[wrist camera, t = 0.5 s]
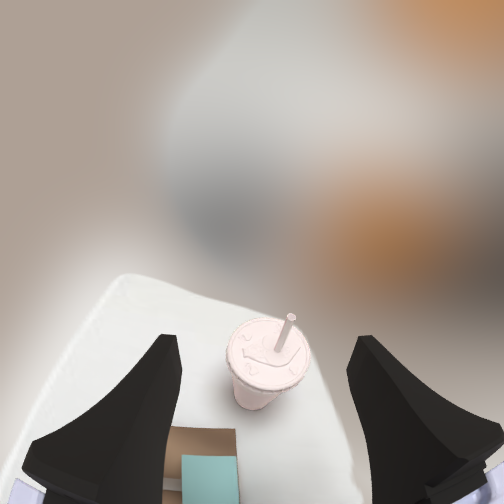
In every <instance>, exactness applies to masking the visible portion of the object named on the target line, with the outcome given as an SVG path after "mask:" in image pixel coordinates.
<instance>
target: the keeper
mask: <svg viewBox="0 0 504 504" xmlns="http://www.w3.org/2000/svg"><path fill="white" fill-rule="evenodd" d="M182 503H183V504H239V491H238V476H237V461H236V456H197V455H182Z"/></svg>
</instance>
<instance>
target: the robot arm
mask: <svg viewBox="0 0 504 504" xmlns="http://www.w3.org/2000/svg"><path fill="white" fill-rule="evenodd" d="M346 370H347V376H348V382H349V387H350V391H351V394H352V397H353V400H354V404H355V406H356V410H357V412H358V416H359V419H360V422H361V425H362V428H363V431H364V435H365V439H366V443H367V449H368V455H369V462H370V470H371V480H372V504H504V461H503V462H501V463H500V464H499V465H497V466H496V467H494V468H493V469H491V470H490V471H488V472H487V473H484V471H483V469H484V468H486V463H485V460H486V459H487V458H489V457H490V456H491V455H492V454H493V453H495V452H496V451H497V450H498V449H499V448H500V447H501V446H502V445H503V444H504V431H503V429H502V427H501V426H500V424H499V423H496V422H492V421H490V420H487V419H484V418H481V417H479V416H477V415H474V414H472V413H470V412H468V411H466V410H464V409H462V408H460V407H458V406H456V405H454V404H452V403H451V402H449V401H448V400H446V399H445V398H443V397H441V396H440V395H439V394H437V393H436V392H434V391H433V390H431V389H430V388H429V387H428V386H426V385H425V384H424V383H422V382H421V381H420V380H419V379H418V378H417V377H415V376H414V375H413V374H412V373H411V372H410V371H409V370H408V369H406V368H405V367H404V366H403V365H402V364H401V363H400V362H399V361H398V360H397V359H396V358H395V357H394V356H393V355H392V354H391V353H390V352H389V351H387V349H386V348H385V347H384V346H383V345H382V344H380V342H378V341H377V340H376V339H375V338H374V337H373V336H372V335H368V336H358V340H357V342H356V345H355V348H354V350H353V353H352V356H351V359H350V361H349V364H348V367H347V369H346ZM181 376H182V366H181V360H180V355H179V349H178V343H177V337H176V335H167V334H161V335H159V336H158V338H157V339H156V340H155V342H154V343H153V344H152V346H151V347H150V348H149V349H148V351H147V352H146V353H145V354H144V356H143V357H142V358H141V359H140V360H139V362H138V363H137V364H136V365H135V366H134V367H133V369H132V370H131V371H130V372H129V373H128V374H127V375H126V376H125V377H124V378H123V379H122V380H121V381H120V383H119V384H118V385H117V386H116V387H115V388H114V389H113V390H112V391H110V392H109V393H108V394H107V395H106V396H105V397H104V398H103V399H102V400H100V401H99V402H98V403H97V404H95V405H94V406H93V407H92V408H90V409H89V410H88V411H86V412H85V413H84V414H82V415H81V416H79V417H78V418H76V419H75V420H73V421H72V422H70V423H68V424H67V425H65V426H63V427H62V428H60V429H58V430H56V431H54V432H52V433H50V434H48V435H46V436H44V437H41V438H39V439H37V440H35V441H32V443H31V445H30V448H29V450H28V452H27V455H26V457H25V460H24V463H23V465H22V470H23V472H24V473H25V474H27V475H28V476H29V477H31V478H32V479H33V480H35V481H36V482H38V483H39V484H40V485H42V486H43V487H45V488H46V489H47V490H46V493H45V494H44V493H43V492H41V491H39V490H37V489H36V488H34V487H32V486H30V485H28V484H27V483H25V482H23V481H21V480H20V479H18V478H16V479H15V482H14V484H13V487H12V490H11V493H10V497H9V500H8V503H7V504H162V494H163V476H164V464H165V454H166V446H167V440H168V435H169V431H170V427H171V423H172V419H173V415H174V411H175V407H176V403H177V400H178V396H179V391H180V384H181Z"/></svg>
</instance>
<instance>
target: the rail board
mask: <svg viewBox="0 0 504 504" xmlns="http://www.w3.org/2000/svg"><path fill="white" fill-rule="evenodd" d="M182 455H197V456H236V461H237V452H236V435H235V429H213V428H189V427H175V426H171V427H170V431H169V435H168V440H167V446H166V454H165V464H164V476H163V494H162V504H183V503H182ZM237 476H238V468H237ZM238 491H239V483H238ZM239 504H240V497H239Z"/></svg>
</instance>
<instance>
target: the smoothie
mask: <svg viewBox="0 0 504 504" xmlns="http://www.w3.org/2000/svg"><path fill="white" fill-rule="evenodd" d="M295 319H296V316H295V315H294V314H291V313H290V314H288V315H287V318H286V320H285V321H282V320H279V319H275V318H267V317H263V318H255V319H252V320H249V321H247V322H245V323H243V324H241V325H240V326H239V327H238V328H237V329H236V330H235V331H234V332H233V333H232V335H231V337H230V339H229V342H228V346H227V349H226V362H227V366H228V369H229V371H230V372H231V374H232V380H233V388H234V395H235V399H236V401H237V403H238V404H239V405H240V406H242V407H243V408H245V409H248V410H258V409H261V408H263V407H264V406H266V405H267V404H268V403H270V402H271V401H272V400H273V399H275V398H276V397H277V396H278V395H280V394H281V393H283V392H287V391H289V390H290V389H292V388H294V387H295V386H297V385H298V383H299V382H300V381H301V380H302V379H303V377H304V375H305V374H306V372H307V370H308V368H309V365H310V359H311V354H310V348H309V345H308V343H307V341H306V339H305V337H304V336H303V335H302V334H301V332H300V331H299V330H298V329H296V328H295V327H294V326H293V324H294V321H295Z"/></svg>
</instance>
